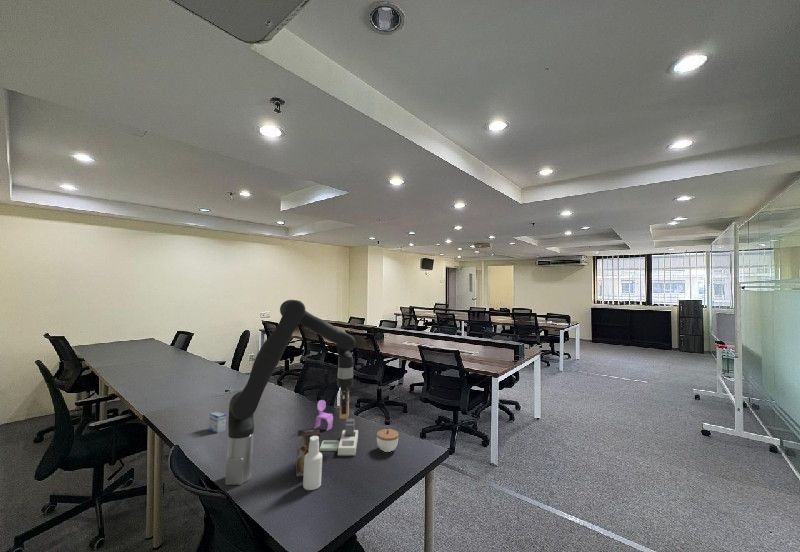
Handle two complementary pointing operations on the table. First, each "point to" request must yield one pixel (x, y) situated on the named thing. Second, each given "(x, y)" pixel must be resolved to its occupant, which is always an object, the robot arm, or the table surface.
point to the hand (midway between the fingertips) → (344, 412)
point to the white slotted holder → (348, 440)
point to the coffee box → (304, 447)
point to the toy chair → (323, 415)
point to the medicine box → (217, 422)
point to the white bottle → (312, 465)
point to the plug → (346, 409)
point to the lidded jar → (387, 439)
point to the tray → (329, 445)
